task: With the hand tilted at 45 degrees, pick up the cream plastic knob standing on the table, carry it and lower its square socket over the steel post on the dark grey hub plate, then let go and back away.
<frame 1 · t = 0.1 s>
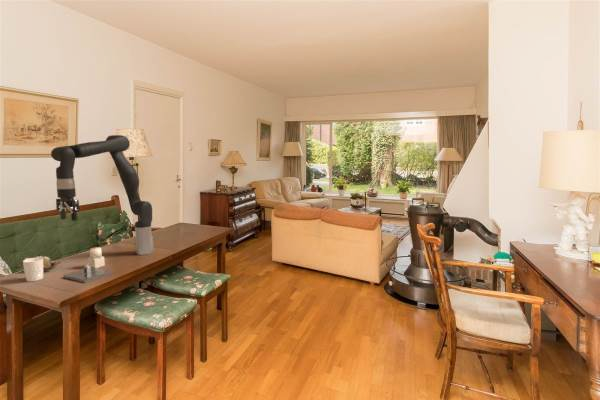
hand: (68, 219, 169), 29 cm above the table, tool pointing down, fingers open, 8 cm apart
knob: (96, 266, 187), on the table
white cup: (34, 279, 167), on the table
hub: (87, 275, 172), on the table
ceramic sculpture: (42, 270, 181), on the table
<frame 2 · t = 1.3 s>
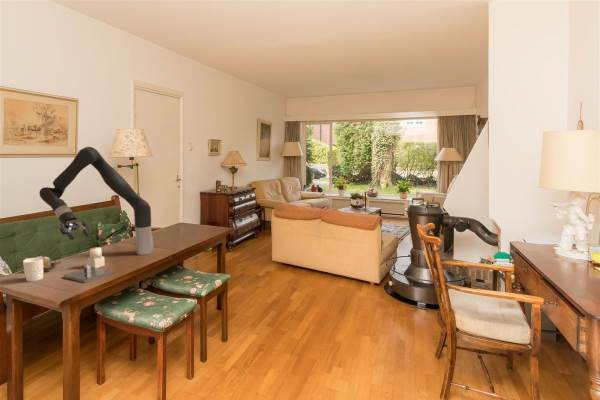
hand: (80, 237, 189), 16 cm above the table, tool tilted 45°, fingers open, 8 cm apart
nothing on the table moved.
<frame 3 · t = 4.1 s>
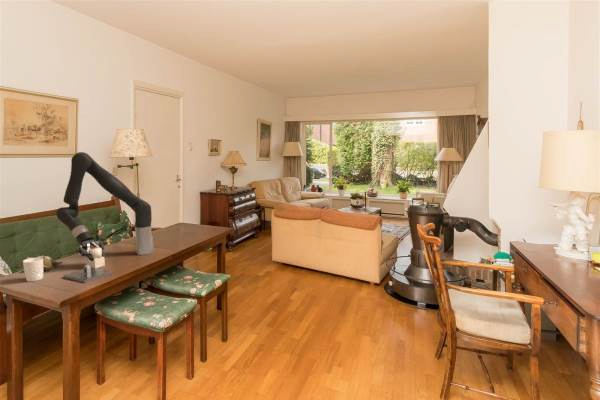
hand: (98, 258, 186), 5 cm above the table, tool tilted 45°, fingers closed on knob, 5 cm apart
knob: (96, 266, 187), on the table, touching gripper
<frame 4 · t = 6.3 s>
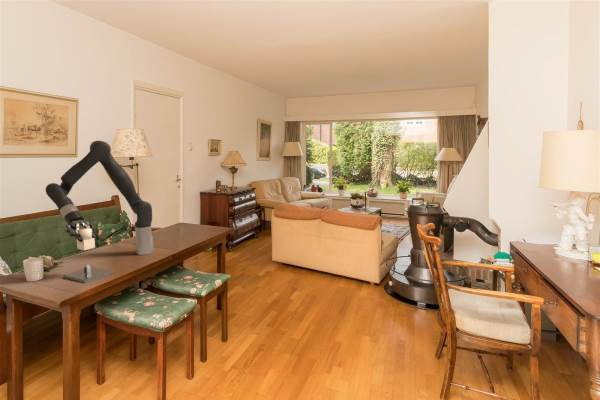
hand: (88, 239, 172), 18 cm above the table, tool tilted 45°, fingers closed on knob, 5 cm apart
knob: (86, 248, 174), point 14 cm above the table, touching gripper
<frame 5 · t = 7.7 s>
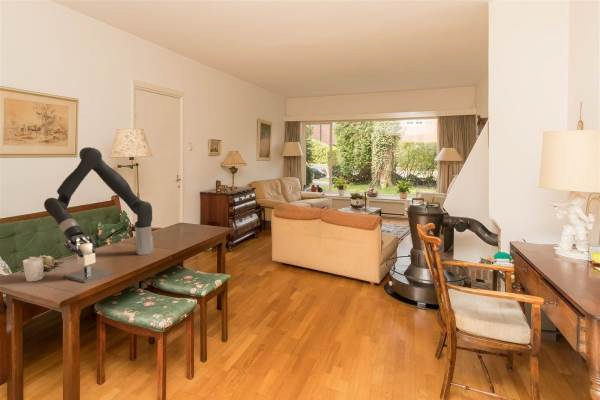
hand: (88, 254, 170), 11 cm above the table, tool tilted 45°, fingers closed on knob, 5 cm apart
knob: (86, 263, 171), point 7 cm above the table, touching gripper
when the fingers open (7 cm above the table, at t = 9.0 s): knob stays where it is, resting on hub.
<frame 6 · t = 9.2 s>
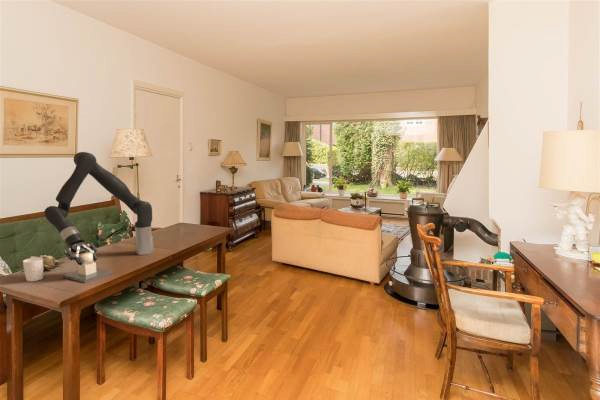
hand: (88, 262, 171), 7 cm above the table, tool tilted 45°, fingers open, 7 cm apart
knob: (87, 272, 172), point 1 cm above the table, touching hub
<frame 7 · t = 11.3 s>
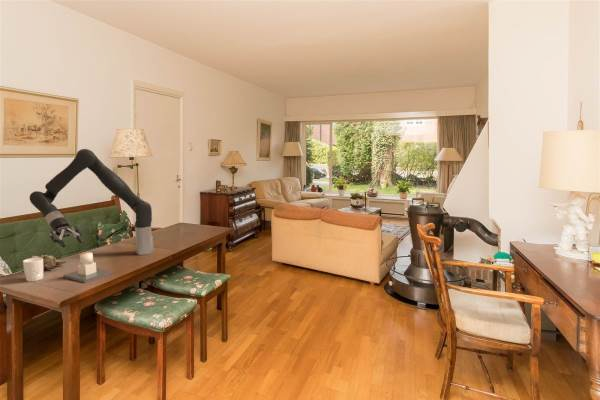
hand: (73, 244, 177), 15 cm above the table, tool tilted 45°, fingers open, 8 cm apart
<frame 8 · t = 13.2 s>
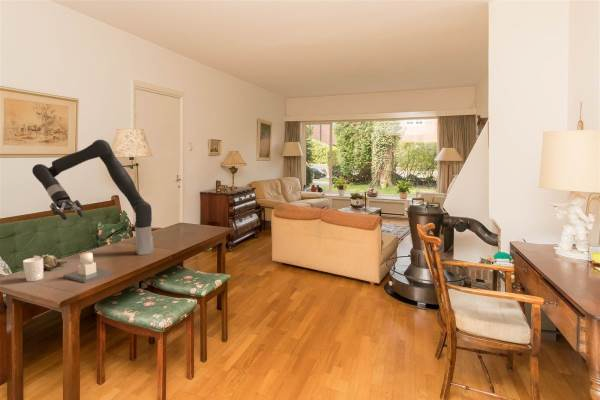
hand: (74, 217, 178), 29 cm above the table, tool tilted 45°, fingers open, 8 cm apart
at the end: knob 0.1 cm off-centre on the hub, point 1.5 cm above the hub's base; knob tilted 0°; the gripper is holding nothing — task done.
